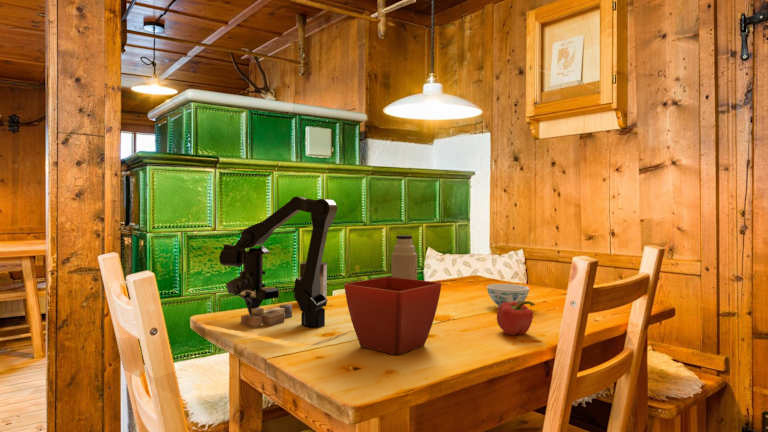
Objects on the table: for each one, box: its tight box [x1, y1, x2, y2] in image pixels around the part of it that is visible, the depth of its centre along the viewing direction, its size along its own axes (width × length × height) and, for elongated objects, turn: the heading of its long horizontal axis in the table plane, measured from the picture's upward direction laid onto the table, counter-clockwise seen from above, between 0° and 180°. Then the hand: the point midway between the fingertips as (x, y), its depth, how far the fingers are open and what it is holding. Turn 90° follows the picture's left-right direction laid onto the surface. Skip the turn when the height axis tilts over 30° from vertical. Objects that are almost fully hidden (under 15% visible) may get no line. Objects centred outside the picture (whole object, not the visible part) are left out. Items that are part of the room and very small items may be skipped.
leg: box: [252, 303, 293, 324], centre depth 153 cm, size 14×4×4 cm, turn 140°
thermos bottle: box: [391, 234, 418, 280], centre depth 152 cm, size 8×8×28 cm
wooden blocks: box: [240, 312, 285, 330], centre depth 147 cm, size 8×10×4 cm
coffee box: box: [299, 261, 328, 299], centre depth 179 cm, size 9×6×16 cm
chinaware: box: [486, 283, 530, 308], centre depth 177 cm, size 15×15×8 cm
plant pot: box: [343, 276, 442, 356], centre depth 128 cm, size 19×19×17 cm
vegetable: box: [496, 300, 536, 336], centre depth 141 cm, size 11×10×10 cm
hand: (252, 317), depth 151 cm, fingers closed
